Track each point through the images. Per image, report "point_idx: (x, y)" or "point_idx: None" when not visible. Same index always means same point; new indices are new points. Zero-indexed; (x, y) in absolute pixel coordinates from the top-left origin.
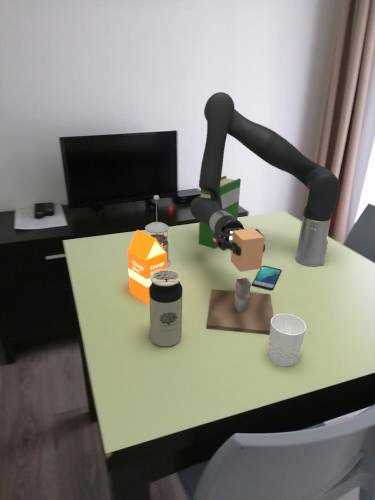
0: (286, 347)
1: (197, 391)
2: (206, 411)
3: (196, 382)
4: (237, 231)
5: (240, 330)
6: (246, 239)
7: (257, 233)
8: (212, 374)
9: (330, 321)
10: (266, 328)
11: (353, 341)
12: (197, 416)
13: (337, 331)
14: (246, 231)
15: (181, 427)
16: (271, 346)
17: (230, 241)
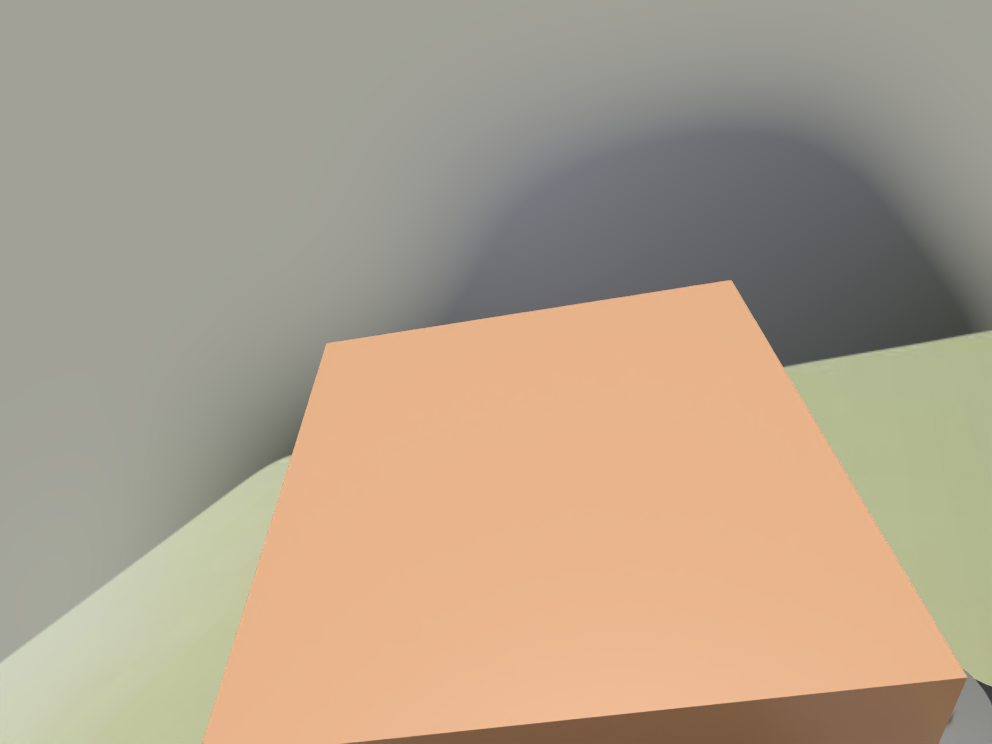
0: None
1: (943, 422)
2: (896, 367)
3: (956, 454)
4: (801, 609)
5: None
6: (665, 290)
7: (338, 461)
8: (884, 481)
9: (128, 732)
10: None
11: (184, 578)
12: (927, 356)
13: (179, 648)
14: (527, 579)
15: (976, 334)
16: None
17: (957, 702)
